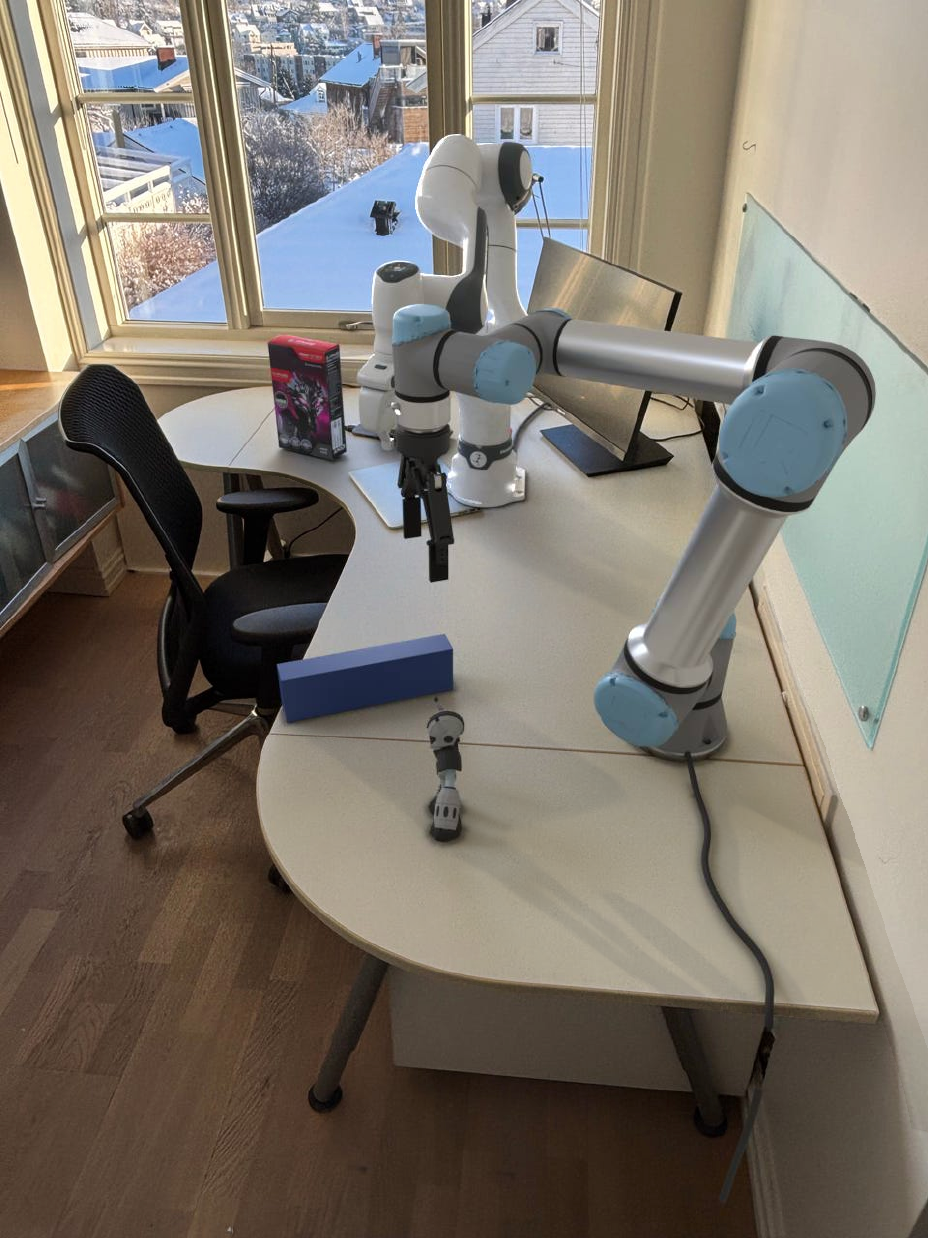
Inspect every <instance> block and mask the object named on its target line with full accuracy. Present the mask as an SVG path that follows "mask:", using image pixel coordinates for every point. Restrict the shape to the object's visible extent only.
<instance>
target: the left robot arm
mask: <svg viewBox="0 0 928 1238" xmlns="http://www.w3.org/2000/svg"><path fill="white" fill-rule="evenodd" d="M532 182H533V164H532V160H531V155H530V153H529V151H528V150H527V148H526V147H525V146H524V145H523V144H522V143H519V142H514V141H504V142H503V143H499V142H490V143H476V142H475V141H474V140H473V139H472V138H470V137H469V136H467V135H464V134H458V133H457V134H454V133H453V134H449V135H446V136H444V137H443V138H441V139H440V140H439V141H438V142H437V144H436V145H435V147H434V148H433V149H432V152H431V154H430V155H429V157H428V158H427V160H426V161H425V163H424V165H423V168H422V174H421V177H420V179H419V182H418V186H417V189H416V194H415V202H414V203H415V210H416V214H417V217H418V219H419V221H420V222H421V224H422V225H423V227H424V228H425V229H426V230H427V231H428V232H429V233H430V234H432V235H433V236H434V237H436V238H437V239H440V240H443V241H446V242H448V243H451V244H453V245H456V246H457V247H459V248H461V249H462V250H463V257H462V258H463V261H462V265H463V266H462V273H460V274H456V275H441V274H440V275H439V274H429V273H421V269H420V267H419V266H418V265H417V264H415V263H414V262H411V261H408V260H407V261H406V260H393V261H389V262H386V263H382V265H380V266H378V267H377V268H376V270H375V272H374V276H373V282H372V291H371V292H372V293H371V296H372V297H371V316H372V317H371V318H372V325H373V328H374V333H375V337H374V341H373V354H372V355H370V358H369V359H368V360H367V362H366V363H365V364H364V365H363V366H362V368H361V369H360V370H359V371H358V372H357V374H356V383H357V384H358V385H360V386H361V387H360V390H359V393H358V415H359V423H360V426H361V428H362V430H364V432H367V433H370V434H371V433H372V434H376V435H377V436H378V438H379V440H380V446H381V447H380V448H381V449H382V450H383V451H387V452H388V451H391V450H392V449H394V448H395V439H394V438H392V437H391V435H389V433H390V432H391V429H390V427H392V426H394V425H395V424H397V422H396V413H395V410H392V407H391V404H392V403H396V401H395V388H394V387H395V377H394V364H393V350H392V345H391V343H392V336H393V317H394V314H395V313H396V312H397V311H398V310H399V309H401V308H403V307H406V306H410V305H418V304H428V305H436V306H440V307H442V308H443V309H446V310H447V311H448V312H449V315H450V323H451V329H453V330H457V331H461V332H464V333H469V334H475V335H486V334H488V333H490V332H492V331H495V330H497V329H499V328H502V327H504V326H506V325H509V324H511V323H513V322H515V321H518V320H520V319H522V318H524V317H526V316H527V315H528V313H527V311H526V310H525V308H524V306H523V305H522V302H521V299H520V295H519V291H518V277H517V276H518V275H517V272H518V271H517V269H518V268H517V263H518V261H517V260H518V259H517V258H518V235H517V221H516V215H515V214H516V213H515V211H516V210H518V208H519V207H520V205H521V202H523V201H524V200H525V199H526V197H527V196H528V194H529V192H530V190H531V187H532ZM488 312H490V314H491V317H492V318H491V320H487V319H488V314H489V313H488ZM454 394H455V396H456V397H455V398H456V400H457V403H458V410H459V434H458V438H457V439H458V440H457V453H456V454H455V455H454V456H452V458H451V468H450V472H449V473H448V476H447V478H448V479H450V480H451V483H448V482H447V483H448V484H449V485H450V488H451V489H452V490H453V491H454V492H455V493H456V494H457V495H459V496H460V497H462V498H464V499H468V500H472V501H473V500H474V501H478V502H481V503H482V504H475V503H470V502H467V501H464V500H462V499H460V498H458V497H457V496H456V495H455V494H454V493H453V492H452V491H451V490H449V489H447V493H448V494H450V495H452V497H453V498H454V499H455V500H456V501H457V502H459V503H461V504H463V505H466V506H469V507H475V508H495V507H501V506H504V505H507V504H510V503H514V502H521V501H523V500H525V497H526V496H525V495H526V494H525V493H526V470H525V469H524V468H522V467H519V466H517V465H518V453H517V452H516V451H514V450H515V448H516V444H517V442H518V441H517V440H518V437H519V435H520V433H521V431H522V429H523V428H524V426H525V425H526V423H528V421H529V420H531V418H532V417H534V415H536V414H537V413H538V412H539V411H541V410H542V409H543V408H544V407H545V406H547V405H549V403H547V402H546V401H545V402H543V403H541V405H539V406H538V407H537V408H535V409H533V411H532V412H531V413H529V414H528V415H527V416H526V417H525V418H524V420H523V421H522V422H521V423H520V425H519V427H518V428H517V429H516V432H515V433H514V436H513V428H512V427H511V424H512V423H511V422H512V405H508V404H502V403H492V402H487V401H485V400H483V399H480V398H476V397H472V396H469V395H465V394H462V393H458V392H454Z"/></svg>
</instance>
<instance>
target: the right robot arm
mask: <svg viewBox="0 0 928 1238" xmlns="http://www.w3.org/2000/svg"><path fill="white" fill-rule="evenodd" d="M391 345H392V350H393V364H394V377H395V387H394V388H395V401H396V403H392V404H391V407H392V410H395V413H396V422H397V423H398V424H397V425H396V440H395V449H396V450H397V452H398V453H399V454H400V455H401V457H400V463H399V471H398V478H397V484H396V485H397V487H398V489H401V490H400V496H401V497H402V501H401V502H402V531H403V538H404V540H408V539H415V538H420V537H422V533H423V532H422V505H423V508H424V513H425V518H426V522H427V528H428V533H429V537H430V539H428V540H427V541H426V542H425V543H426V546H428V581H429V583H431V584H432V583H438V582H443V581H449V546H450V545H451V546H452V545H454V544H455V538H454V537H455V536H454V531H453V530H454V529H453V524H452V523H453V522H452V516H451V508H450V501H449V495H448V494H449V493H448V492H447V483H448V480H447V478H448V476H447V474H446V472H444V471H443V472H442V468H441V464H440V463H439V462H438V460H439V459H440V458H441V457H443V456H445V455H446V454H448V452H449V451H450V449H451V437H450V429H451V426H450V424H449V423H450V421H451V419H452V417H451V415H452V414H451V407H452V406H451V405H452V404H451V403H452V402H451V392H453V393H455V392H458V393H462V394H465V395H469V396H472V397H476V398H480V399H483V400H485V401H487V402H492V403H502V404H508V405H511V406H512V405H517V404H520V403H521V402H523V401H524V400H525V399H526V397H527V394H528V393H530V391H531V390H532V388H533V386H534V383H535V379H536V377H537V376H539V375H541V374H544V375H550V376H557V377H562V378H569V377H570V378H572V379H577V380H583V381H587V382H588V381H589V382H595V383H599V384H604V385H605V384H606V385H610V386H611V385H612V386H617V387H623V388H629V389H635V390H641V391H647V392H653V393H659V394H664V395H671V396H677V397H682V398H688V399H694V400H698V401H699V400H700V401H706V402H712V403H716V404H723V405H728V406H729V405H730V407H729V408H728V410H727V411H726V413H725V415H724V417H723V420H722V422H721V426H720V429H719V435H718V450H717V451H716V454H715V456H714V458H713V460H712V463H711V471H712V473H713V476H714V478H715V480H716V482H717V483H716V485H715V487H714V489H713V491H712V493H711V495H710V497H709V499H708V500H707V503H706V505H705V507H704V509H703V511H702V513H701V515H700V517H699V519H698V521H697V524H696V525H695V527H694V529H693V531H692V533H691V536H690V538H689V540H688V541H687V543H686V546H685V547H684V550H683V551H682V554H681V556H680V558H679V560H678V562H677V564H676V566H675V567H674V569H673V572H672V574H671V576H670V578H669V580H668V582H667V583H666V585H665V588H664V590H663V591H662V594H661V596H660V597H659V598H658V599H657V601H656V602H655V605H654V609H653V610H652V614H651V616H650V618H649V620H648V621H647V622H643V623H640V624H637V625H636V626H635V627H633V629H632V630H631V631H630V633H629V634H628V637H627V638H626V640H625V642H624V644H623V647H622V649H621V651H620V653H619V655H618V657H617V659H616V661H615V663H614V664H613V666H612V667H611V669H610V670H609V671H608V672H607V673H606V674H604V675H603V676H601V678H600V679H599V681H598V684H597V685H596V687H595V688H594V693H593V704H594V708H595V712H596V713H597V714H598V715H599V717H600V720H601V722H602V723H603V725H604V726H605V727H606V728H607V729H608V730H609V731H610V732H611V733H612V734H613V735H615V736H616V737H617V738H619V739H620V740H622V741H624V742H626V743H628V744H630V745H633V746H636V747H639V748H640V749H641V750H643V751H645V752H646V753H648V754H650V755H651V756H654V757H656V758H659V759H662V760H666V761H670V762H675V763H686V766H687V771H688V774H689V779H690V784H691V788H692V791H693V792H692V793H693V795H694V799H695V802H696V805H697V807H698V811H699V813H700V816H701V821H702V825H703V826H702V827H703V841H702V846H701V855H700V858H701V859H700V863H701V864H700V865H701V870H702V874H703V878H704V881H705V883H706V886H707V889H708V891H709V893H710V895H711V897H712V899H713V901H714V903H715V904H716V906H717V908H718V909H719V911H720V913H721V914H722V916H723V918H724V919H725V922H727V924H728V925H729V927H730V928H731V929H732V930H733V932H734V933H735V934H736V935H737V936H738V937H739V938H740V940H741V941H742V942H743V943H744V944H745V946H746V947H747V948H748V949H749V950H750V951H751V953H752V954H753V956H754V957H755V959H756V960H757V962H758V964H759V966H760V969H761V971H762V974H763V977H764V984H765V994H764V995H765V996H764V1027H765V1029H766V1030H769V1031H772V1030H773V1029H774V1021H775V1020H774V1016H775V1015H774V1014H775V1013H774V1010H775V982H774V977H773V973H772V971H771V968H770V966H769V963H768V960H767V959H766V957H765V955H764V953H763V952H762V951H761V949H760V947H759V946H758V945H757V944H756V942H754V940H753V939H752V938H751V937H750V936H749V934H748V933H746V931H745V930H744V929H743V928H742V926H740V924H739V923H738V922H737V921H736V919H735V918H734V916H733V915H732V913H731V911H730V910H729V908H728V907H727V905H726V903H725V901H724V900H723V898H722V897H721V894H720V893H719V891H718V889H717V887H716V885H715V883H714V880H713V877H712V874H711V869H710V864H709V863H710V862H709V861H710V859H709V856H710V849H711V842H712V827H711V821H710V817H709V814H708V811H707V808H706V805H705V802H704V800H703V796H702V794H701V791H700V787H699V782H698V778H697V773H696V769H695V766H694V762H700V761H703V760H706V759H709V758H711V757H714V755H716V754H718V752H720V751H721V750H722V748H723V747H724V744H725V743H726V740H727V739H726V738H727V734H728V721H727V716H726V712H725V708H724V707H725V706H724V701H723V692H724V686H725V682H726V678H727V674H728V668H729V664H730V659H731V654H732V651H733V650H732V649H733V645H734V639H735V638H736V636H737V632H736V629H737V617H736V614H735V612H734V611H735V610H736V607H737V606H738V604H739V603H740V601H741V599H742V597H743V596H744V594H745V592H746V590H747V589H748V587H749V585H750V583H751V582H752V580H753V578H754V576H755V575H756V573H757V571H758V569H759V568H760V566H761V565H762V563H763V561H764V559H765V557H766V555H767V554H768V552H769V550H770V548H771V546H772V545H773V543H774V542H775V540H776V538H777V537H778V535H779V533H780V531H781V529H783V526H784V524H785V522H786V521H787V519H788V517H789V516H793V515H794V516H795V515H798V514H799V515H800V514H801V513H805V512H806V511H808V510H809V509H810V508H811V506H812V505H813V503H814V501H815V500H816V498H817V496H818V495H819V492H820V491H821V489H822V488H823V486H824V484H825V483H826V481H827V479H828V477H829V476H830V474H831V472H832V471H833V470H834V467H835V466H836V464H837V463H838V460H839V459H840V458H841V456H842V455H843V453H844V451H845V450H846V449H847V447H848V446H849V445H850V444H851V443H852V442H853V441H854V439H855V438H857V436H858V435H859V434H860V433H862V431H863V430H864V429H865V427H866V425H867V424H868V422H869V420H870V418H871V417H872V414H873V412H874V409H875V405H876V396H877V392H876V390H877V389H876V382H875V379H874V376H873V374H872V371H871V369H870V367H869V366H868V364H867V363H866V362H865V360H864V359H863V358H862V357H861V356H860V355H858V354H857V353H856V352H855V351H853V350H851V349H850V348H848V347H846V346H844V345H842V344H839V343H838V344H837V343H834V342H830V341H823V340H817V339H808V338H800V337H791V336H790V337H789V336H783V335H773V334H772V335H771V334H770V335H768V336H767V337H765V338H764V339H763V340H761V341H760V342H756V341H749V340H741V339H734V338H733V339H732V338H724V337H717V336H710V335H701V334H692V333H685V332H677V331H669V330H662V329H661V330H660V329H653V328H647V327H646V328H645V327H637V326H631V325H623V324H622V325H621V324H616V323H615V324H614V323H605V322H598V321H590V320H581V319H576V318H573V317H572V316H571V315H570V314H568V313H567V312H565V311H564V310H562V309H560V308H555V307H550V308H545V309H538V310H535V311H534V312H530V313H529V314H527V316H526V317H524V318H522V319H520V320H518V321H515V322H513V323H511V324H509V325H506V326H504V327H502V328H499V329H497V330H495V331H492V332H490V333H488V334H486V335H475V334H469V333H464V332H461V331H457V330H453V329H451V323H450V315H449V312H448V311H447V310H446V309H443V308H442V307H440V306H436V305H428V304H418V305H410V306H406V307H403V308H401V309H399V310H398V311H397V312H396V313H395V314H394V317H393V336H392V343H391ZM422 503H423V504H422ZM763 1093H764V1090H763V1089H759V1088H754V1090H753V1094H752V1098H751V1102H750V1106H749V1109H748V1113H747V1117H746V1119H745V1123H744V1126H743V1129H742V1131H741V1135H740V1137H739V1140H738V1143H737V1146H736V1149H735V1151H734V1154H733V1156H732V1159H731V1162H730V1165H729V1166H728V1170H727V1173H726V1176H725V1178H724V1182H723V1185H722V1188H721V1191H720V1194H719V1196H718V1200H719V1202H720V1203H721V1204H726V1202H727V1200H728V1196H729V1193H730V1190H731V1187H732V1185H733V1182H734V1179H735V1177H736V1174H737V1171H738V1168H739V1167H740V1166H739V1165H740V1163H741V1161H742V1157H743V1155H744V1153H745V1150H746V1147H747V1145H748V1142H749V1139H750V1136H751V1134H752V1132H753V1128H754V1125H755V1122H756V1118H757V1115H758V1112H759V1108H760V1105H761V1101H762V1098H763Z"/></svg>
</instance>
